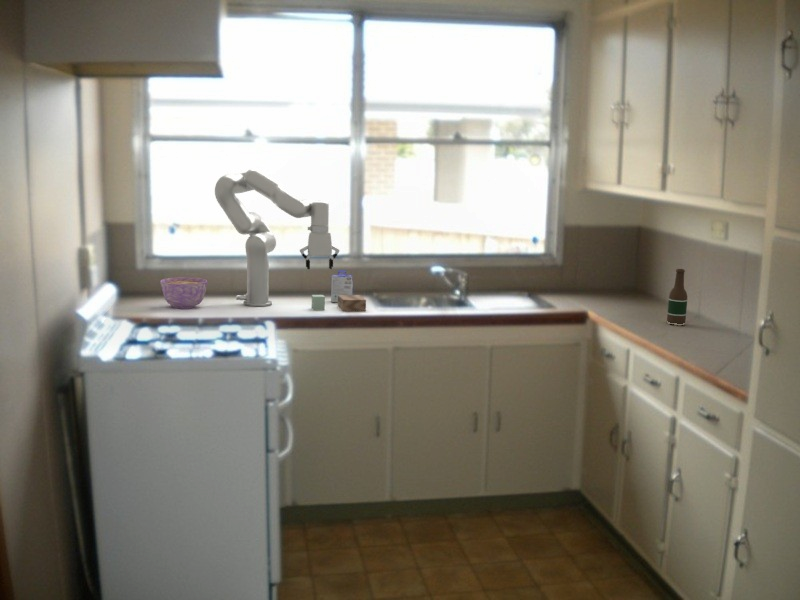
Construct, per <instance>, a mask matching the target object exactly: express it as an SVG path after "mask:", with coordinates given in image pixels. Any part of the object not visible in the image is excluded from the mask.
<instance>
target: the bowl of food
mask: <svg viewBox="0 0 800 600" xmlns="http://www.w3.org/2000/svg"><path fill="white" fill-rule="evenodd" d="M159 282H160V287H161V290H162V294H163V298H164V300H165V302H166V303H167V304H169V305H170V306H172V307H174V308H175V309H182V310H185V309H193V308H195V306H197V305H199V304H201V303H202V302H203V300H204V298H205V295H206V291H207V285H208V283H209V281H208V280H207V279H205V278H201V277H189V276H188V277H178V276H177V277H169V278H163V279H161V280H160V281H159Z"/></svg>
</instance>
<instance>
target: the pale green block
mask: <svg viewBox="0 0 800 600" xmlns="http://www.w3.org/2000/svg"><path fill="white" fill-rule="evenodd" d="M325 303H326V296H325V295H324V294H311V310H313V311H325V308H326V307H325V306H326V305H325Z"/></svg>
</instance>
